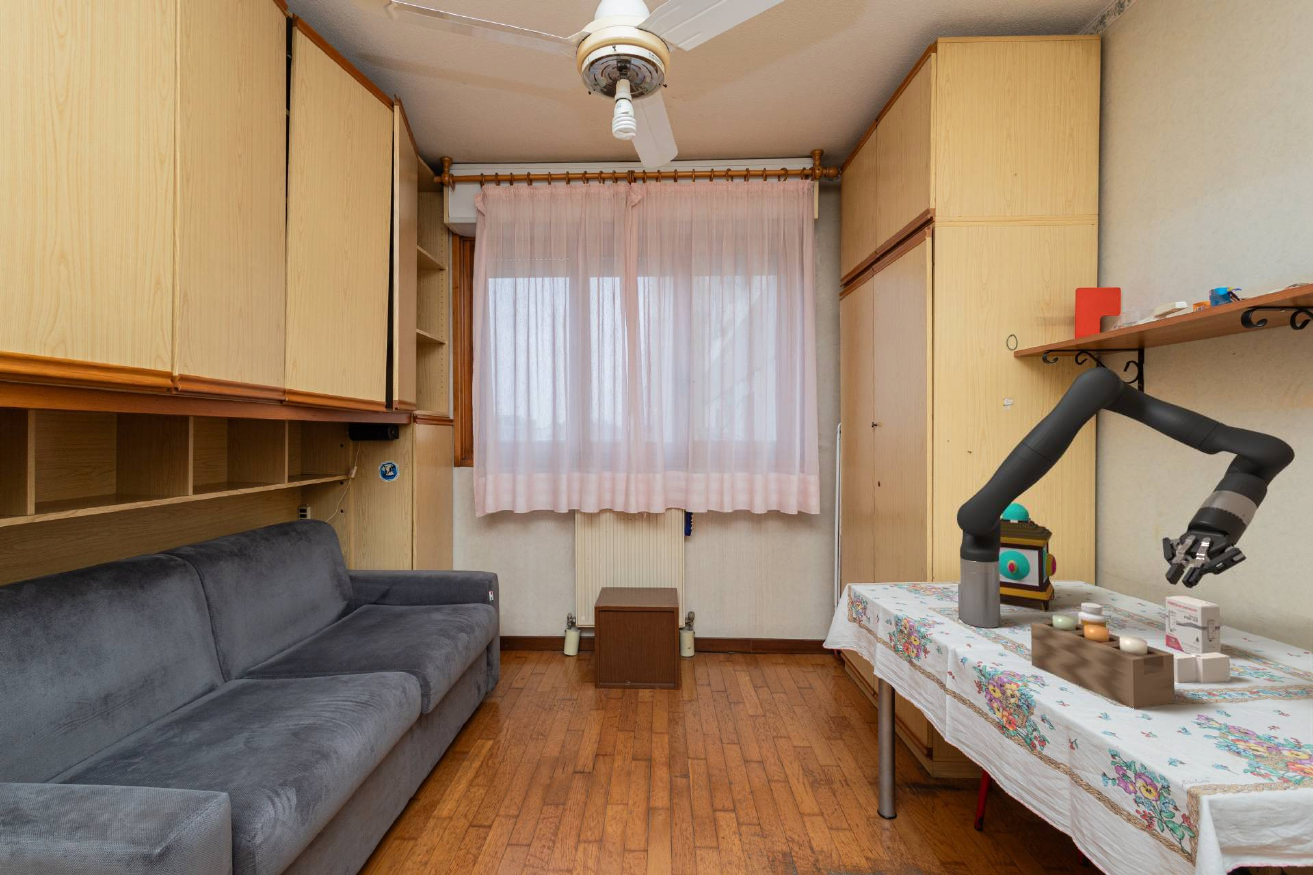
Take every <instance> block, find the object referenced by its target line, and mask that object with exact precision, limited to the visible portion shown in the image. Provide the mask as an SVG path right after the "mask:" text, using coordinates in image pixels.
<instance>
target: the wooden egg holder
mask: <svg viewBox="0 0 1313 875" xmlns="http://www.w3.org/2000/svg"><path fill="white" fill-rule="evenodd" d="M1030 635H1031V636H1030V637H1031V638H1030V639H1031V640H1030V641H1031V643H1030V644H1031V646H1030V647H1031V648H1030V649H1031V666H1033V667H1035V668H1037V669H1039V670H1043V671H1044V672H1046V673H1049V674H1051V675H1054V676H1056V677H1059V678H1060V679H1063V680H1065V681H1067V682H1070V683H1072V684H1074V685H1077V686H1080V687H1082V688H1084V689H1086V690H1089V691H1091V692H1094V693H1095V694H1098V695H1100V696H1103V697H1104V698H1107V699H1109V700H1112V701H1114V702H1117V703H1119V704H1122V705H1123V706H1125V707H1128V708H1130V709H1133V708H1134V709H1133V710H1136V709H1135V708H1137V709H1143V708H1148V706H1149V707H1153V706H1160V705H1167V704H1171V703H1170V702H1173V703H1175V702H1176V701H1175V700H1176V698H1175V697H1176V696H1175V693H1176V692H1175V682H1174V654H1175V653H1171V652H1168V651H1166V650H1162V649H1159V648H1156V647H1153V646H1150V645H1147V655H1142V656H1135V655H1132V654H1130V653H1127V652H1124V651H1121V650H1120V637H1121V636H1120V635H1115V634H1112V633H1109V642H1104V643H1098V642H1095V641H1092V640H1089V639H1086V638H1084V625H1081V624H1078V622H1076V631H1067V632H1065V631H1063V630H1060V629H1057V628H1054V627H1053V621H1046V622H1036V623H1030ZM1142 707H1143V708H1142Z"/></svg>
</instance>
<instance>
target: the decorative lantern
mask: <svg viewBox="0 0 1313 875" xmlns="http://www.w3.org/2000/svg"><path fill="white" fill-rule="evenodd" d="M1000 518H1001V547H1000V553H999V572H1000V597H1006V598H1013V599H1019V600H1026V601H1032V602H1039V603H1041V606H1042V610H1043V612H1045V613H1047V612H1048V611H1049V608H1050V601H1051V600H1053V599H1054V598H1055V588H1054V586H1053V584H1052V582H1051V580H1050V577H1053V576H1054V575H1055V574H1056V573H1057V560H1056V558H1055V556H1054V554H1051V553H1049V552H1050V550H1049V547H1050V546H1049V544H1050V543H1049V542H1050V540H1051V538H1052V536H1053V533H1052V531H1050V529H1049V528H1047V527H1046V526H1045V525H1044V526H1043V525H1039V524H1038V523H1036V522H1035V521H1034V520H1032V519H1031V517H1030V513H1029V510H1028V509H1026V507H1025V506H1024V505H1022V504H1020V503H1017V502H1012V503H1011V504H1010V505H1009V506H1008V507H1007V509H1006V510H1005V511H1004V512H1003V514H1002V515H1001V517H1000Z"/></svg>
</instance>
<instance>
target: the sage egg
mask: <svg viewBox="0 0 1313 875" xmlns="http://www.w3.org/2000/svg"><path fill="white" fill-rule="evenodd" d="M1052 622H1053V627H1054V628H1057V629H1060V630H1063V631H1065V632H1067V631H1076V623H1077V621H1076V618H1075V617H1073V616H1070V615H1065V614H1053V615H1052Z"/></svg>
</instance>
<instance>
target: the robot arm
mask: <svg viewBox="0 0 1313 875" xmlns="http://www.w3.org/2000/svg"><path fill="white" fill-rule="evenodd" d="M1101 410H1106V411H1108V412H1111V413H1115V414H1119V415H1121V416H1125V417H1127V418H1129V419H1132V420H1133V421H1137V422H1139V423H1140V424H1143V425H1146V426H1147V427H1149V428H1151V429H1153V430H1155V431H1157V432H1159V433H1161V434H1163V435H1164V436H1166V437H1168V438H1171V439H1172V440H1174V441H1176V442H1178V443H1181V444H1183V445H1185V446H1188V447H1189V448H1192V449H1193V450H1196V451H1198V452H1200V453H1204V454H1206V455H1210V456H1211V455H1217V454H1219V453H1221V452H1225V453H1226V452H1227V453H1230V454H1234V455H1235V457H1234V458H1233V459H1232V461H1231V462H1230V463H1229V465H1228V467H1227V469H1226V471H1225V472H1224V475H1223V478H1221V479H1220V481H1219V482H1218V484H1216V487H1214V489H1213V491H1212V492H1211V494H1209V496H1208V497H1207V498H1206V499H1205V500H1204V501H1203V503H1202V504H1201V505H1200V507H1199V508H1198V510H1197V511H1196V513H1195V514H1194V516H1192V518H1191V520H1190V521H1189V522H1188V524H1187V530H1186V532H1184V533H1183V534H1181V535H1180V536H1179V537H1178V538H1173V539H1171V538H1170V537H1169V536H1168V537H1167V536H1166V537H1165V536H1164V537H1163V538H1162V541H1161V542H1162V551H1163V558H1164V559H1165V561H1166V562H1167V563H1168V564H1169V565H1170V567H1169V568H1168V570H1167V571H1166V573H1165V578H1166V581H1167V582H1168V583H1169V584H1170V585H1174V586H1177V584H1178V583H1179V582H1180V579H1181V578H1182V577H1183V578H1182V579H1181V583H1182V584H1183V586H1184V587H1185V588H1188V589H1193V588H1194V587H1196V586H1197V585H1198V584H1199V582H1200V581H1201V580H1202V579H1203V577H1204V576H1206V575H1207V574H1213V575H1215V576H1216V575H1220V574H1222V573H1223V572H1226V571H1227V570H1229V569H1232V568H1233V567H1234V566H1236V565H1238V564H1240V563H1242V562H1244V561H1245V560H1247V556H1246V555H1245V554H1244V552H1243V551H1242V550H1241V549H1240V548H1239V547H1235V546H1236V545H1237V544H1238V543H1239V541H1240V539H1241V537H1242V536H1243V535H1244V533H1245V532H1246V530H1247V528H1248V527H1249V526H1250V524H1251V523H1252V521H1253V519H1254V517H1255V515H1256V512H1257V511H1258V509H1259V507H1260V506H1261V504H1262V503H1263V501H1264V500H1265V498H1266V496H1267V493H1268V487H1269V485H1270V484H1271V482H1272V481H1273V480H1274V479H1275V477H1277V475H1279V474H1280V473H1281V472H1282V471H1283V470H1285V469H1286V468H1287V467H1288V466H1289V465H1290V464H1291V463H1293V460H1294V459H1295V456H1296V455H1295V450H1294V449H1293V447H1292V446H1291V445H1290V444H1288V443H1287V442H1286V441H1285V440H1282V439H1281V438H1279V437H1276V436H1275V435H1270V434H1267V433H1264V432H1260V431H1254V430H1249V429H1246V428H1241V427H1238V426H1237V427H1235V426H1231V425H1227V424H1226V423H1224V422H1220V421H1218V420H1216V419H1214V418H1211V417H1208V416H1206V415H1204V414H1202V413H1199V412H1197V411H1193V410H1191V409H1188V408H1185V407H1182V406H1180V405H1176V404H1173V403H1170V402H1167V401H1165V400H1162V399H1159V398H1156V397H1155V396H1153V395H1149V394H1147V393H1145V392H1143V391H1142V390H1140V389H1137V388H1136V387H1134V386H1132V385H1131V384H1130V383H1127V382H1126V381H1125V380H1123V379H1122V378H1121V377H1120V376H1119V374H1118V373H1116V372H1115V371H1114V370H1112V369H1110V368H1107V367H1101V366H1100V367H1099V366H1098V367H1093V368H1088V369H1087V370H1084V371H1083V372H1081V373H1080V374H1079V375H1078V376H1077V377H1076V378H1075V379H1074V381H1073V382H1072V383H1071V385H1070V386H1069V388H1068V389H1067V390H1066V392H1065V393H1064V394H1063V396H1062V397H1061V398H1060V400H1059V401H1058V403H1057V404H1056V405H1055V406H1054V408H1053V409H1051V411H1050V412H1049V413H1048V414H1047V415H1046V416H1045V417H1044V418H1042V419H1041V420H1040V421H1039V422H1038V423H1037V424H1036V425H1035V426H1034V427H1033V428H1032V429H1030V431H1029V432H1028V433H1027V434H1026V435H1025V436H1024V437H1023V438H1022V439H1021V441H1020V442H1019V443H1018V444H1017V445H1016V446H1015V447H1014V448H1013V449H1012V450H1011V452H1010V453H1009V454H1008V455H1007V456H1006V457H1005V459H1004V460H1003V461H1002V463H1000V465H999V466H998V468H997V470H996V471H994V473H993V475H992V476H991V478H990V479H989V480H988V481H987V482H986V484H985V485H984V486H982V487H981V489H980V490H978V491H977V492H976V493H975V494H973V496H971V498H969V499H968V500H967V501H965V502H964V503H963V504H962V505H960V507H959V509H958V511H957V513H956V523H957V525H958V527H959V528H960V529H961V531H962V537H961V538H962V539H961V545H960V548H959V559H960V563H959V564H960V567H959V568H960V583H958V584H957V603H958V605H957V608H958V609H957V610H958V612H957V613H958V616H957V617H958V619H960V620H961V622H963V623H964V624H966V625H970V626H973V627H977V628H978V627H980V628H987V629H988V628H991V629H992V628H998V627H1000V626H1001V596H1000V572H999V553H1000V547H1001V518H1002V514H1003V512H1004V511H1005V510H1006V509H1007V507H1008V506H1009V505H1010V504H1012V503H1014V501H1015V500H1016V499H1017V498H1019V496H1021V495H1022V494H1024V493H1025V492H1027V491H1028V490H1029V489H1030V488H1032V487H1033V486H1034V485H1035V484H1037V483H1038V482H1039V481H1040V480H1041V479H1043V477H1045V475H1046V474H1047V473H1048V472H1049V471H1050V470H1052V468H1054V466H1055V465H1056V463H1058V462H1059V460H1060V459H1061V458H1062V457H1063V455H1064V454H1065V453H1066V451H1067V450H1068V448H1069V447H1070V446H1071V444H1072V443H1073V441H1074V440H1075V438H1076V436H1077V434H1078V433H1079V432H1080V430H1081V429H1082V428H1083V427H1084V426H1085V425H1086V424H1087V423H1088V422H1089V421H1090V420H1091V419H1092V418H1093V417H1094V416H1095V415H1096V414H1097V413H1099V412H1100V411H1101ZM1191 564H1192V565H1193V566H1190V565H1191ZM1189 566H1190V567H1189ZM1188 567H1189V569H1188ZM1187 569H1188V570H1187ZM1186 570H1187V572H1186ZM1185 572H1186V573H1185ZM1184 574H1185V575H1184ZM1183 575H1184V576H1183Z"/></svg>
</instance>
